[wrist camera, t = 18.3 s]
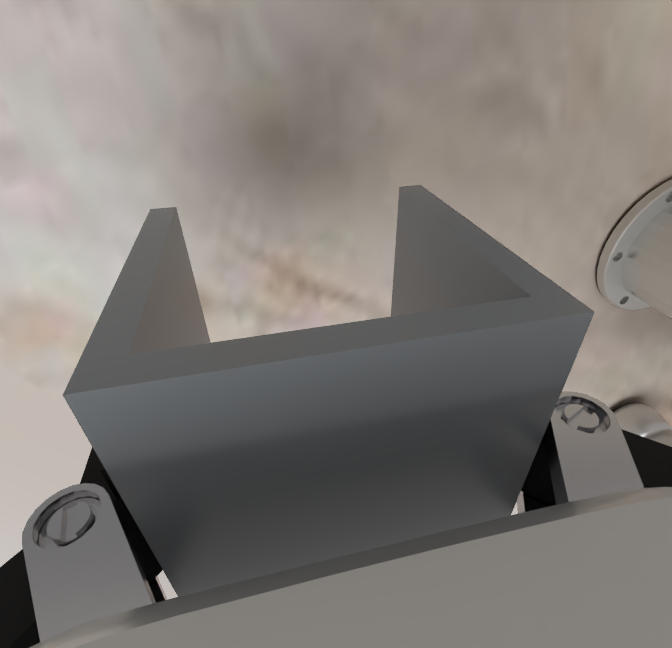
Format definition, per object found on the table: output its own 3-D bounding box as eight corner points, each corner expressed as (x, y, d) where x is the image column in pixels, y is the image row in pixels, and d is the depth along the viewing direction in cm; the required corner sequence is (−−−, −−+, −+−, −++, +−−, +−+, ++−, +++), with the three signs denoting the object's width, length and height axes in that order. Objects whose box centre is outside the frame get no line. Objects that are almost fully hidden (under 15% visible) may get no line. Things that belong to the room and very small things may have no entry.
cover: (420, 184, 11) (594, 311, 6) (400, 395, 16) (487, 572, 10) (150, 209, 10) (63, 394, 5) (214, 428, 14) (206, 646, 9)
